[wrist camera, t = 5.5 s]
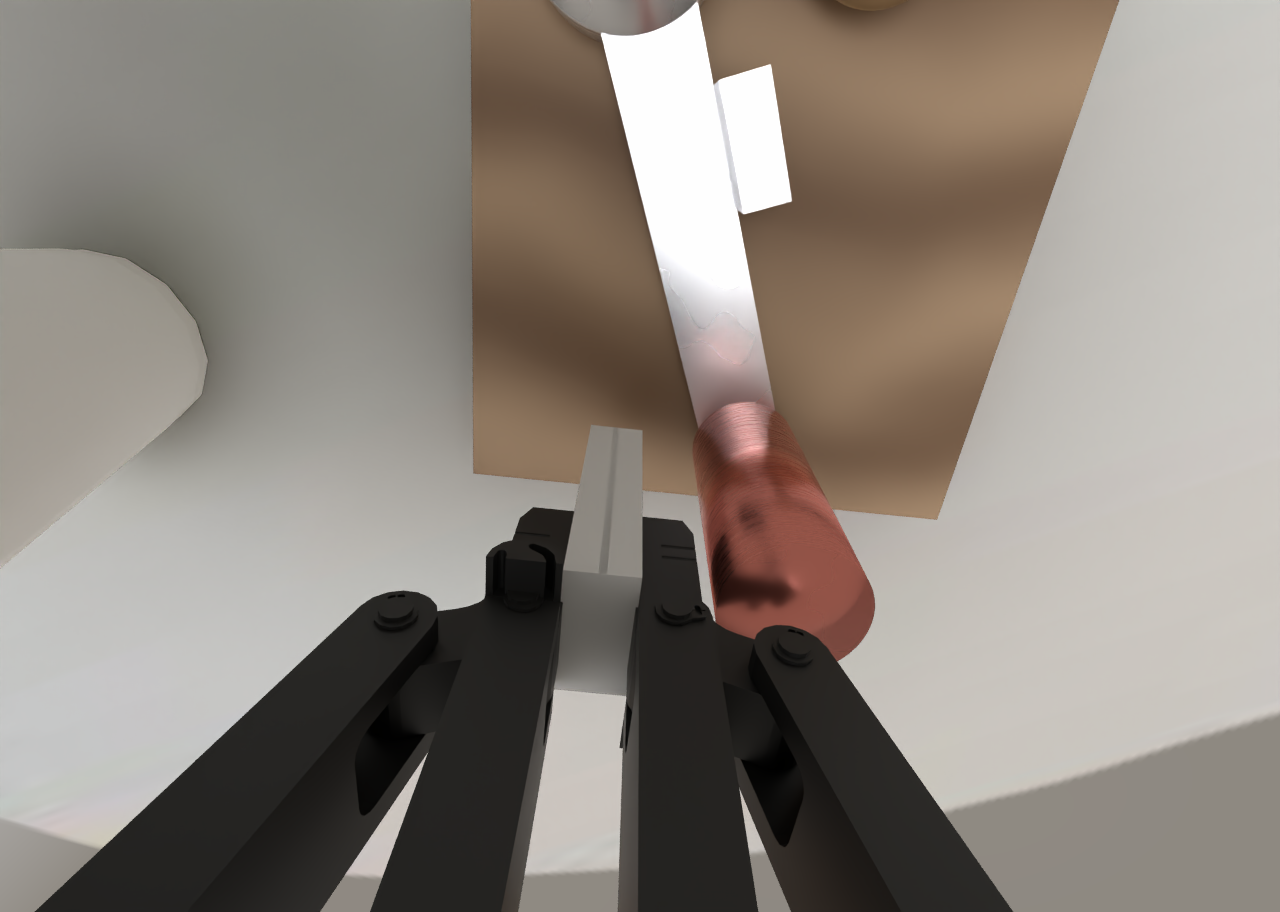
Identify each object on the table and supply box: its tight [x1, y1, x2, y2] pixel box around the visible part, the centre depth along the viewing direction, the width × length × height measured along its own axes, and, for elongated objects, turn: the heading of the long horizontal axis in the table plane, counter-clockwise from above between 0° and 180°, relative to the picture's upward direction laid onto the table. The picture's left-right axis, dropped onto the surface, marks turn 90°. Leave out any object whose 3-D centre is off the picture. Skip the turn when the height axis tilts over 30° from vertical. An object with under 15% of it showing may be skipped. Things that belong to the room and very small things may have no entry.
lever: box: [550, 0, 875, 661], centre depth 14 cm, size 18×5×10 cm, turn 15°
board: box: [471, 0, 1119, 520], centre depth 18 cm, size 22×17×5 cm
